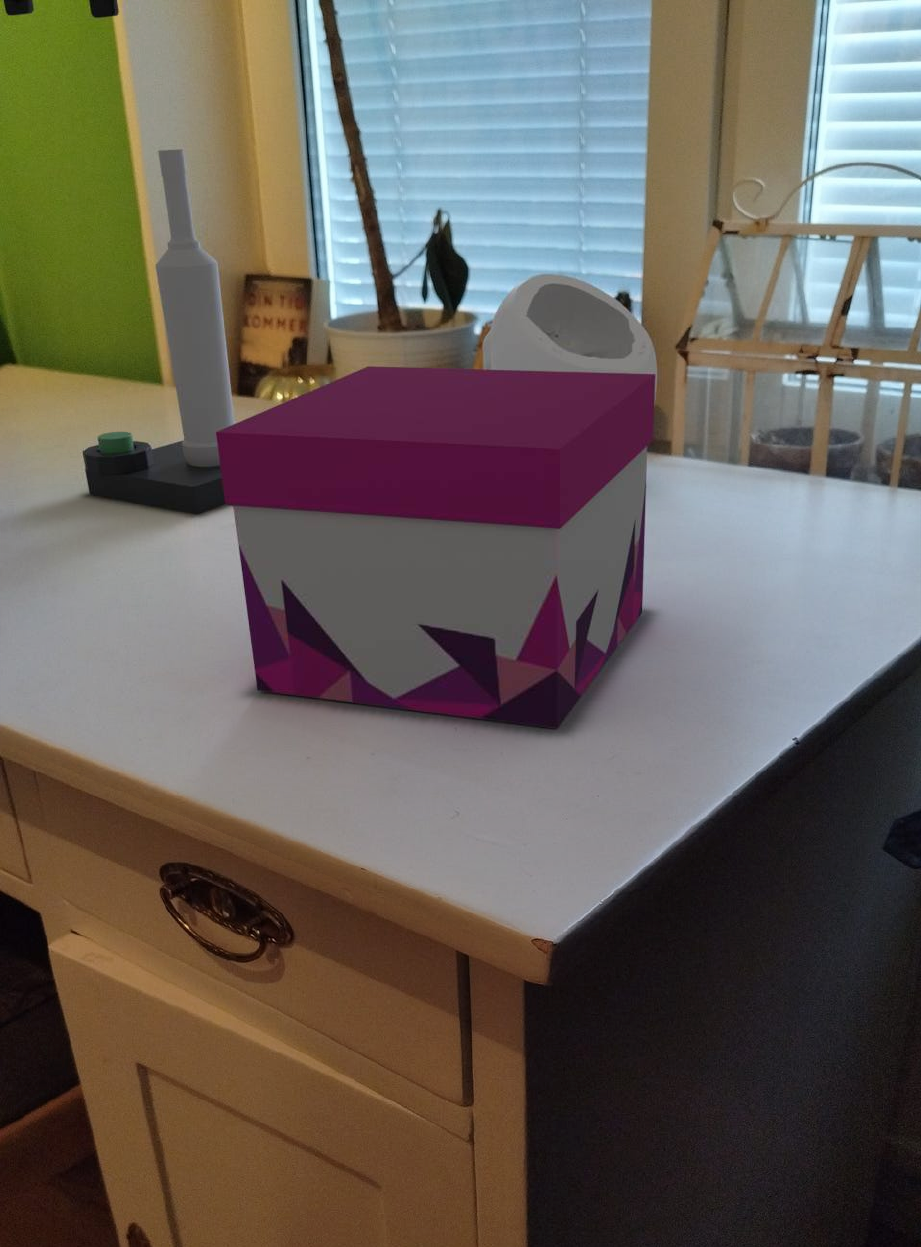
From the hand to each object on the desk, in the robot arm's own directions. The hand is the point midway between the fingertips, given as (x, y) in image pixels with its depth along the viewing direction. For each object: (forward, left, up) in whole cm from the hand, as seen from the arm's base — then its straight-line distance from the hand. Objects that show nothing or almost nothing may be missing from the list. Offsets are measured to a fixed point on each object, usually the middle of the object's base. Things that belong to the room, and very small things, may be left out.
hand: (64, 15), depth 115 cm
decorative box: (+65, -31, -38) cm, 82 cm away
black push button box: (+20, -11, -38) cm, 45 cm away
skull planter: (+48, +8, -38) cm, 62 cm away
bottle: (+22, -9, -36) cm, 43 cm away
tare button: (+15, -15, -35) cm, 41 cm away
